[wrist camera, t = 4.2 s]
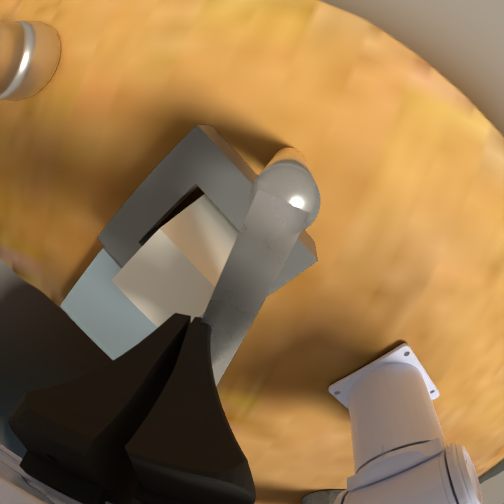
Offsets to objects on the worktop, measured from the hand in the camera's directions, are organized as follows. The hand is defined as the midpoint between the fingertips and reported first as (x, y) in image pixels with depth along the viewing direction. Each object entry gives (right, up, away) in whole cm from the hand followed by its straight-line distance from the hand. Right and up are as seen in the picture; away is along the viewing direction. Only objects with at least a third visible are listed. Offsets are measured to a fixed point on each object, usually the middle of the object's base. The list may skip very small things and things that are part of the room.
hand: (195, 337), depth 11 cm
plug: (-1, +5, +9) cm, 10 cm away
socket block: (-1, +5, +9) cm, 10 cm away
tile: (-9, -2, +13) cm, 16 cm away
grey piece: (+2, +4, +9) cm, 10 cm away
